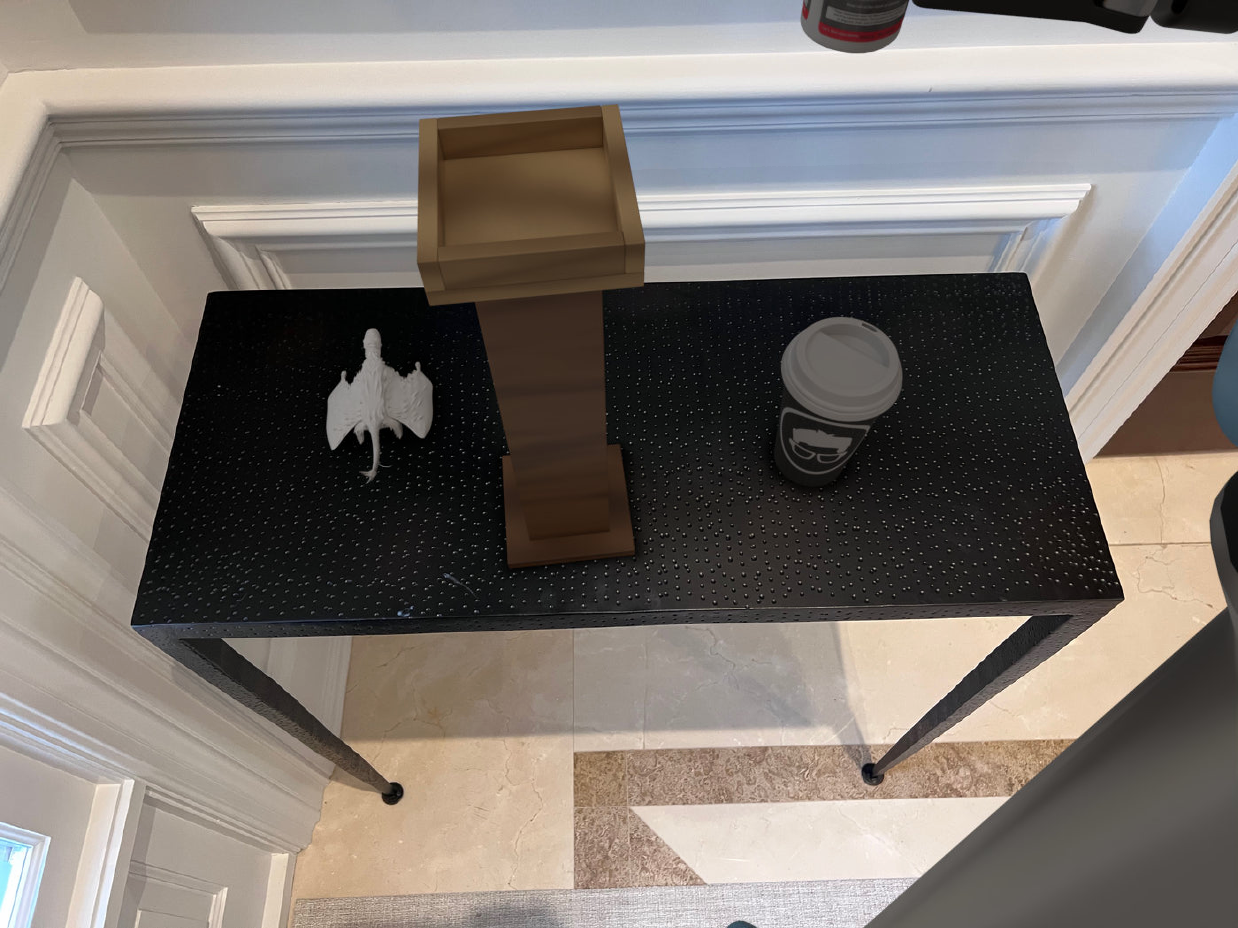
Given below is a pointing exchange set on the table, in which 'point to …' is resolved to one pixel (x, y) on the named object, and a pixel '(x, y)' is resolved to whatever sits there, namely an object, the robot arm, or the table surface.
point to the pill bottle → (853, 23)
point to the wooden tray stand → (539, 304)
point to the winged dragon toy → (379, 401)
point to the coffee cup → (832, 396)
